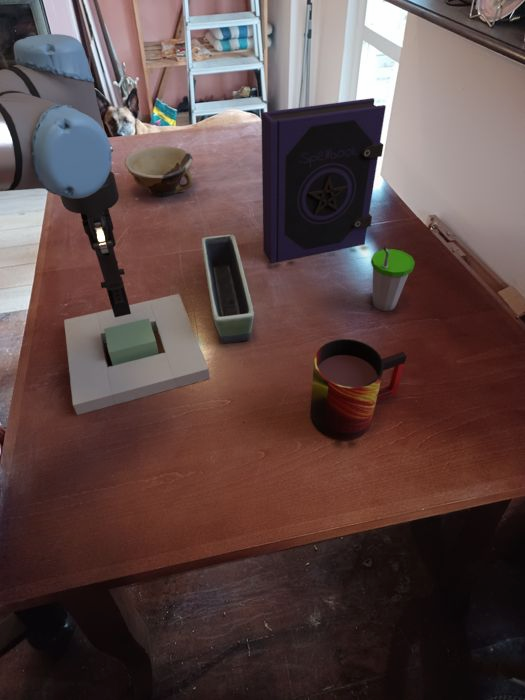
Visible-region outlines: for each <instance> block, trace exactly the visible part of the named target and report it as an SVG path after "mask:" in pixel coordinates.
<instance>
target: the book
mask: <svg viewBox="0 0 525 700" xmlns="http://www.w3.org/2000/svg"><path fill="white" fill-rule="evenodd" d="M386 108H387V106H386V105H385V104H382V105H375V98H374V97H372V98H363V99H355V100H347V101H339V102H332V103H324V104H317V105H309V106H301V107H295V108H294V107H293V108H285V109H277V110H271V111H262V112H261V115H260V117H261V176H262V177H261V178H262V179H261V180H262V181H261V183H262V235H263V236H262V238H263V239H262V245H263V246H262V247H263V248H262V249H263V253H264V254H265V256H266V258H267V259H268V261H269V262H270V263H271V264H273V263H276V262H277V263H278V262H283V261H288V260H294V259H298V258H302V257H307V256H313V255H317V254H322V253H328V252H332V251H336V250H337V251H338V250H343V249H348V248H352V247H357V246H362V245H365V243H366V237H367V231H368V227H371V225H372V219H373V216H372V215H371V213H370V212H371V206H372V205H371V204H372V197H373V191H374V185H375V179H376V172H377V166H378V159H379V157H380V158H381V157H382V156H383V150H384V144H383V143H382V142H381V141H382V140H381V139H382V132H383V126H384V121H385V114H386Z"/></svg>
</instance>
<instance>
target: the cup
mask: <svg viewBox="0 0 525 700" xmlns="http://www.w3.org/2000/svg"><path fill="white" fill-rule="evenodd" d="M370 264H371V266H372V305H373V308H375V309H377V310H378V311H382V312H391V311H393V310H395V308H396V306H397V304H398V301H399V299H400V297H401V294H402V291H403V290H404V286H405V284H406V281H407V280H408V278H409V277H408V276H409V274H411V273H412V272H413V270H414V268H415V264H416V261H415V260H414V257H413V256H412V255H410V254H409V253H408V252H405V251H403V250H399V249H394V248H387V247H386V246H384V247H382V249H381V250H379V251H375V252H374V254H373V255H372V257H371V260H370Z"/></svg>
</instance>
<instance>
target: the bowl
mask: <svg viewBox="0 0 525 700" xmlns="http://www.w3.org/2000/svg"><path fill="white" fill-rule="evenodd" d="M192 164H193V156H192V154H191V153H190V152H189V151H188V150H186V149H184V148H181V147H177V146H170V145H156V146H151V147H150V146H149V147H144V148H141V149H138V150H136V151H133V152H131V153H130V154H128V155H127V156H126V158H124V166H125V169H127V171H128V173H129V174H131V176H132V177H133V180H134V182H136V184H138V185H139V186H141V187H142V188H144V189H145V190H148V192H149V194H151V195H152V196H154V197H158V198H159V197H160V198H164V197H170V196H172V195H174V194H177V193H181V192H185V191H188V190H189V189H190V188H191V187H192V186H193V181H194V180H193V176H192V174H191V170H190V169H191V167H192ZM183 177H184V178H185V180H186V183H184V184H183V183H181V181H182V179H183Z"/></svg>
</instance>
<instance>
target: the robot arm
mask: <svg viewBox="0 0 525 700" xmlns="http://www.w3.org/2000/svg"><path fill="white" fill-rule="evenodd" d="M13 53H14V61H15V65H12V66H9V67H7V68H4V69H0V192H1V193H2V192H10V191H27V190H37V189H40V190H41V189H42V190H46V191H47V192H49V193H50V194H52V195H56V196H60V200H61V203H62V205H63V207H64V208H65V209H66V210H67V211H69V212H70V213H73V214H80V217H81V220H82V221H81V223H82V227H83V231H84V233H85V235H86V236H87V238H88V241H89V244H90V248H91V250H93V251H94V252H95V254H96V259H97V261H98V264H99V268H100V271H101V274H102V277H103V278H102V279H103V281H101V282H100V287H101V289H106V293H107V295H108V299H109V302H110V306H111V309H112V310H113V313H114V317H120V316H124V315H129V314H131V311H130V307H129V305H130V304H129V299H128V296H127V292H126V288H125V284H124V281H123V277H122V276H123V275H126V273H125V269H124V268H119V262H118V259H117V256H116V252H115V247H116V244H117V243H116V239H115V235H114V232H113V231H114V228H115V227H114V223H113V220H112V216H111V214H110V209H111V208H112V207H114V206H115V205H116V204H117V202H119V199H120V194H119V190H118V185H117V181H116V175H115V174H114V172H113V171H112V170H113V166H112V158H113V156H112V153H113V152H114V147H113V146H112V144H111V143H110V139H109V137H108V134H107V133H106V130H104V124H103V120H102V116H101V111H100V107H99V102H98V98H97V93H96V88H95V84H94V83H95V79H94V77H93V73H92V71H91V68H90V63H89V60H88V56H87V54H86V51H85V48H84V46H83V44H82V43H81V41H80V40H79V39H78V38H76V37H74V36H71V35H66V34H62V33H61V34H59V33H58V34H57V33H51V34H50V33H49V34H48V33H47V34H37V35H31V36H26V37H24V38H21V39H19V40H16V41H15V42H14V44H13Z"/></svg>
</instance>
